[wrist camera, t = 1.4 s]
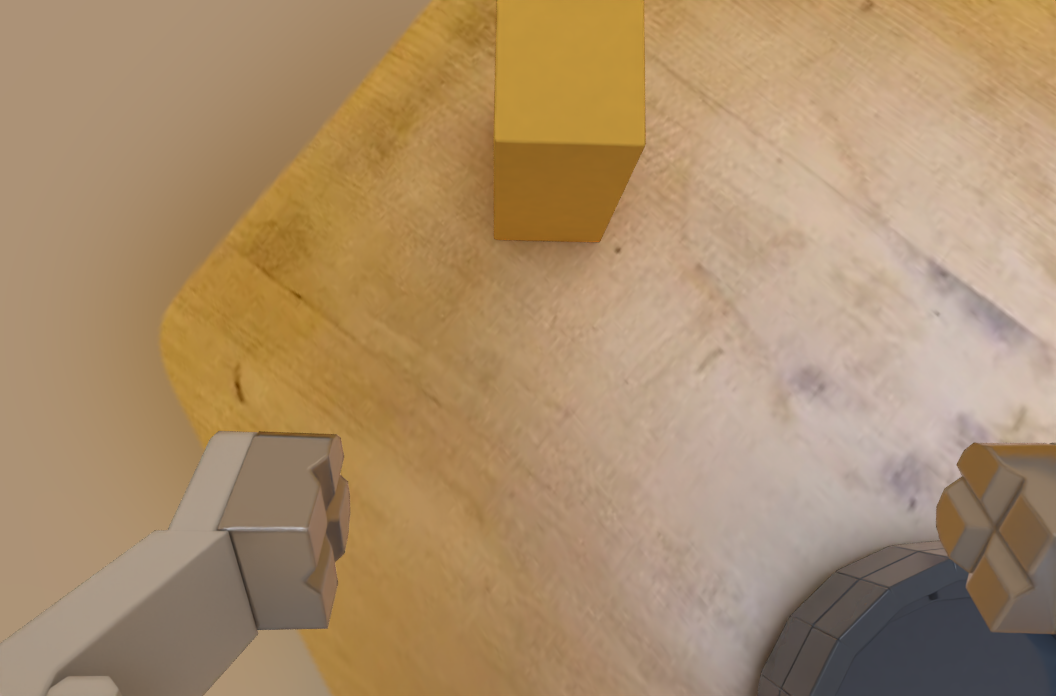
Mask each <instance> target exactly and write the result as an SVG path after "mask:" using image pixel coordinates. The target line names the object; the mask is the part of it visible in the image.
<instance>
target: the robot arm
mask: <svg viewBox="0 0 1056 696" xmlns="http://www.w3.org/2000/svg"><path fill="white" fill-rule="evenodd" d="M343 460H344V453H343V447H342V442H341V438H340V437H339V436H338V435H337V434H312V433H285V432H258V433H257V432H235V431H218V432H217V433H216V434H215V435H214V436H213V437H212V438H211V439H210V440H209V442H208V444H207V446H206V449H205V451H204V453H203V455H202V457H201V459H200V462H199V464H198V466H197V468H196V470H195V472H194V474H193V477H192V479H191V481H190V483H189V485H188V487H187V489H186V491H185V494H184V496H183V498H182V500H181V502H180V504H179V506H178V509H177V511H176V513H175V515H174V517H173V519H172V522H171V524H170V526H169V528H168V530H155V531H153V532H152V533H151V534H150V535H148V536H147V537H145V538H144V539H142V540H141V541H140V542H139V543H137V544H136V545H134V546H133V547H132V548H130V549H129V550H127V551H126V552H125V553H123V554H122V555H120V556H119V557H118V558H116V559H115V560H114V561H113V562H111V563H109V564H108V565H107V566H105V567H104V568H103V569H101V570H100V571H98V572H97V573H96V574H95V575H93V576H92V577H90V578H89V579H88V580H86V581H85V582H83V583H82V584H81V585H79V586H78V587H77V588H75V589H74V590H72V591H71V592H70V593H68V594H67V595H66V596H64V597H63V598H62V599H60V600H59V601H57V602H56V603H55V604H54V605H52V606H51V607H49V608H48V609H46V610H45V611H44V612H42V613H41V614H40V615H38V616H37V617H35V618H34V619H33V620H31V621H30V622H28V623H27V624H26V625H24V626H23V627H22V628H20V629H19V630H18V631H16V632H15V633H13V634H12V635H11V636H9V637H8V638H7V639H5V640H4V641H3V642H1V643H0V696H203V695H204V694H205V693H206V692H207V691H208V690H209V689H210V687H211V686H212V685H213V684H214V683H215V682H216V681H217V679H218V678H219V677H220V676H221V675H222V674H223V673H224V672H225V671H226V670H227V668H228V667H229V666H230V665H231V664H232V662H234V661H235V659H236V658H237V657H238V656H239V655H240V654H241V653H242V652H243V651H244V649H245V648H246V647H247V646H248V645H249V644H250V643H251V642H252V640H253V639H254V638H255V637H256V636H257V635H258V631H257V630H278V629H325V628H328V625H329V621H330V617H331V612H332V608H333V603H334V599H335V594H336V590H337V586H338V579H337V573H336V567H335V562H336V561H337V560H338V559H339V558H340V557H341V556H342V555H343V554H344V553H345V549H346V544H347V539H348V533H349V522H350V493H349V486H348V481H347V480H346V479H344V478H343V477H342V476H341V475H340V472H341V468H342V464H343ZM957 466H958V469H959V471H960V473H961V475H962V477H961V478H959V479H958V480H956V481H955V482H953V483H952V484H950V485H949V486H947V487H946V488H945V489H944V491H943V493H942V495H941V498H940V500H939V502H938V504H937V507H936V528H937V531H938V535H939V539H940V542H941V544H942V546H943V548H944V550H945V552H946V553H947V555H948V557H949V559H951V560H952V561H953V562H955V563H956V564H957V565H959V566H960V567H962V568H963V569H964V570H966V571H967V572H968V573H969V575H968V579H967V583H966V589H967V591H968V593H969V594H970V596H971V598H972V600H973V601H974V603H975V605H976V607H977V608H978V610H979V612H980V614H981V615H982V617H983V619H984V621H985V622H986V624H987V626H988V628H989V629H990V631H991V632H1004V633H1034V634H1056V443H1050V444H1047V443H973V444H972V445H970V446H969V447H968V448H967V449H965V450H964V451H963V453H962V455H961V457H960V459H959V461H958V463H957Z"/></svg>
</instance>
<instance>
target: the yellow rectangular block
mask: <svg viewBox="0 0 1056 696" xmlns="http://www.w3.org/2000/svg"><path fill="white" fill-rule="evenodd" d="M645 144H646V138H645V39H644V0H497V4H496V50H495V96H494V239H496V240H528V241H567V242H600V241H601V238H602V236H603V234H604V232H605V230H606V228H607V226H608V223H609V221H610V219H611V217H612V215H613V213H614V211H615V209H616V206H617V204H618V202H619V200H620V198H621V196H622V194H623V192H624V189H625V187H626V185H627V183H628V181H629V179H630V177H631V174H632V172H633V170H634V168H635V166H636V164H637V162H638V160H639V157H640V155H641V153H642V151H643V149H644V147H645Z"/></svg>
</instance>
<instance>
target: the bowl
mask: <svg viewBox="0 0 1056 696" xmlns="http://www.w3.org/2000/svg"><path fill="white" fill-rule="evenodd" d="M968 575H969V573H968V572H967V571H966V570H964V569H963V568H962V567H960V566H959V565H957V564H956V563H955V562H953V561H952V560H951V559H949V557H948V555H947V553H946V552H945V550H944V548H943V546H942V544H941V542H940V540H939V541H930V542H920V543H910V544H900V545H892V546H888V547H886V548H884V549H882V550H880V551H877V552H875V553H873V554H871V555H869V556H867V557H865V558H863V559H860V560H858V561H856V562H854V563H852V564H850V565H848V566H845V567H843V568H841V569H839V570H837V571H836V572H835V573H833V574H832V575H831V576H830V577H829V578H828V579H827V580H826V581H825V582H824V583H823V584H822V585H821V586H820V587H819V588H818V589H817V590H816V591H815V592H814V593H813V594H812V595H811V596H810V597H809V598H808V599H807V600H806V601H805V602H804V603H803V604H802V605H801V606H800V607H799V608H798V609H797V610H796V611H795V612H794V613H793V614H792V616H790V617H789V619H788V621H787V623H786V625H785V627H784V629H783V631H782V633H781V635H780V636H779V638H778V640H777V642H776V644H775V646H774V648H773V650H772V652H771V654H770V656H769V658H768V660H767V662H766V664H765V666H764V668H763V670H762V672H761V673H762V674H761V676H760V682H759V688H758V694H757V696H1056V634H1034V633H1004V632H991V631H990V629H989V628H988V626H987V624H986V622H985V621H984V619H983V617H982V615H981V614H980V612H979V610H978V608H977V607H976V605H975V603H974V601H973V600H972V598H971V596H970V594H969V593H968V591H967V589H966V583H967V579H968Z"/></svg>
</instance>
